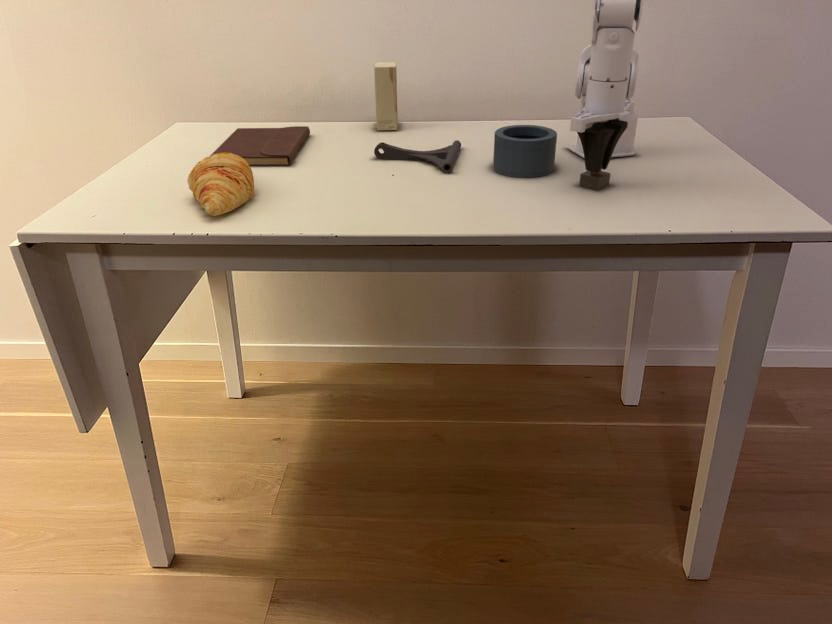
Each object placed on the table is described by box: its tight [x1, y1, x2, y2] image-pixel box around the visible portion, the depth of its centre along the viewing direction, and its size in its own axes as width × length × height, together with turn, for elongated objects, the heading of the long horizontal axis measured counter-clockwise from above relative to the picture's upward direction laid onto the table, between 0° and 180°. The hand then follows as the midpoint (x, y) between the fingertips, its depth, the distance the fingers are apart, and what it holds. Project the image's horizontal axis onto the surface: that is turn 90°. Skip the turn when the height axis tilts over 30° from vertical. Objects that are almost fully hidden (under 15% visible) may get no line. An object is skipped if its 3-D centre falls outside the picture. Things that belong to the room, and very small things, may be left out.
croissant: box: [186, 152, 255, 217], centre depth 109 cm, size 21×10×8 cm, turn 5°
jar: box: [492, 124, 558, 178], centre depth 118 cm, size 10×10×6 cm
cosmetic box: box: [373, 61, 399, 131], centre depth 141 cm, size 6×4×12 cm
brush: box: [578, 166, 612, 192], centre depth 110 cm, size 3×3×7 cm
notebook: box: [208, 125, 311, 167], centre depth 132 cm, size 15×20×2 cm
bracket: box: [373, 140, 462, 173], centre depth 125 cm, size 14×15×3 cm
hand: (596, 169), depth 110 cm, fingers closed on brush
